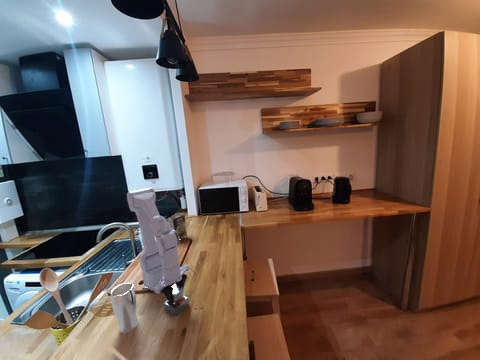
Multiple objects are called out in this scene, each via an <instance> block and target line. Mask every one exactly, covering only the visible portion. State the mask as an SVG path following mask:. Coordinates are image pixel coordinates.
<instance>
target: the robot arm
mask: <svg viewBox="0 0 480 360" xmlns="http://www.w3.org/2000/svg"><path fill="white" fill-rule="evenodd" d="M156 195H157V194H156V191H155V189H154V188H153V187H151V186H149V187H148V188H143V189H142V188H141V189H137V190H132V191H128V192H127V193H126V199H127V200H126V201H127V203H128V208H129V210H130V211H131V212H134V213H135V216H136V217H137V223H138V225H139V226H138V227H139V229H140V234H141V238H142V242H143V246H144V248H143V250H142V252H140V254H139V266H140V269H141V271H142V273H141V275H142V282H143V285H144V286H146V287H148V288H147V289H149V290H150V291H153V292H154V293H156V294H160V293H161V292H162V293H163V294H164V297H165V298H166V299H167V300H168V302H169V303H171V304H172V303H173V289H174V288H173V287H172V286H171V284H176V285H178V286H181V287H182V289H183V290H184V289H185V283H186V281H187V279H188V275H187V274H185V272H189V271H190V265H188V264H184V265H182V266H180V259H179V252H178V246H179V245H180V241H179V237H178V234H177V232H176V231H175V230H173V228H170V227H169V222H168V221H167V220H166V218H165V217H164V216H162V215H160V212H159V211H158V208H157V205H156V200H157V196H156ZM144 286H143V287H144ZM167 300H166V301H167Z"/></svg>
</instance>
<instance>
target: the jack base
mask: <svg viewBox="0 0 480 360" xmlns="http://www.w3.org/2000/svg"><path fill="white" fill-rule="evenodd" d="M183 296H184V298H183V299H182V300H181V301H179V305H178V306H176V307H174V306H172V305H170V304H168V300H166V301H164V302H163V307H164V311H165V312H167V313H169V314H171V315H172V316H174V317H177V316H178V315H179V314H181V313H182V312H183V311H184V309H186V308H187V307H188V306H190V302H189V297H188V296H186V295H184V294H183Z"/></svg>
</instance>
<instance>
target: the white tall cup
mask: <svg viewBox="0 0 480 360" xmlns="http://www.w3.org/2000/svg"><path fill="white" fill-rule="evenodd" d="M135 291H136V290H135V288H134V284H133V283H131V282H123V283H121V284H118V285H117V286H115V287H114V288H112V290H111V291H110V301H111V307H112V311H113V314H114V315H115V318H116V319H117V321H118V326H119V327H118V331H119V333H121V334H127V333H130V332H132V331H133V330H135V329H136V327H137V326H138V325H139V319H138V316H137V295H136V292H135Z"/></svg>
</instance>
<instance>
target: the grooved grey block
mask: <svg viewBox="0 0 480 360" xmlns="http://www.w3.org/2000/svg"><path fill="white" fill-rule="evenodd" d="M171 287H173V288H174V289H173V303H172V304H171V303H169V302H168V304H170V305H172V306H174V307H176V306H178V305H179V301H181V300H182V299H183V298H184V296H185V295H184V289H182V287H181V286H178V285H176V283H173V285H172V286H171ZM183 295H184V296H183Z"/></svg>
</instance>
